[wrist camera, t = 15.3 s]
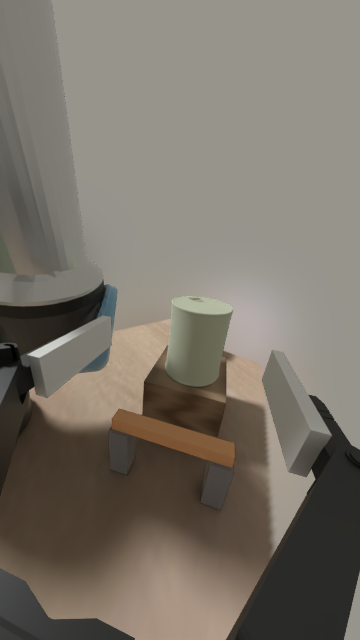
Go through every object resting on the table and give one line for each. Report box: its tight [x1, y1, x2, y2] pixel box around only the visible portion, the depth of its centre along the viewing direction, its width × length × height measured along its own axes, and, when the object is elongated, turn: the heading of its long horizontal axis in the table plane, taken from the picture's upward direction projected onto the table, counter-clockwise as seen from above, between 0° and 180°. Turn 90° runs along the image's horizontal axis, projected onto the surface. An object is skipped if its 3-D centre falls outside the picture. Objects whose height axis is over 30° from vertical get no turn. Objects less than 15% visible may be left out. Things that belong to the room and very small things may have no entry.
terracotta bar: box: [112, 409, 235, 468], centre depth 21 cm, size 14×2×2 cm, turn 76°
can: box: [165, 296, 233, 387], centre depth 29 cm, size 9×9×12 cm
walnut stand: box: [142, 345, 226, 438], centre depth 33 cm, size 12×12×9 cm
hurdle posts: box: [109, 427, 234, 510], centre depth 22 cm, size 14×2×7 cm, turn 76°
